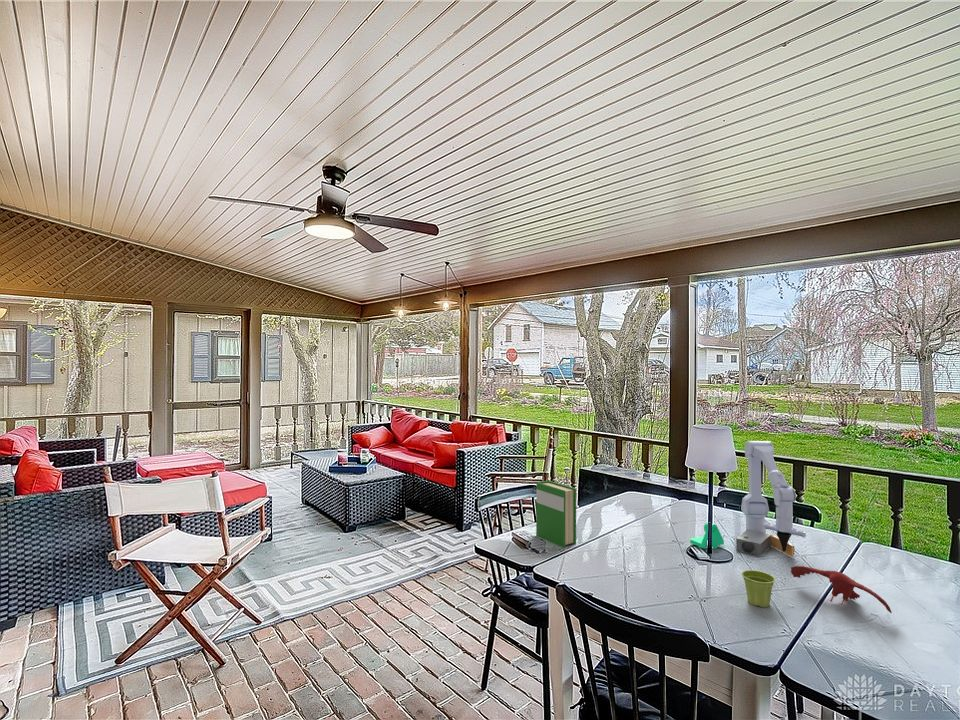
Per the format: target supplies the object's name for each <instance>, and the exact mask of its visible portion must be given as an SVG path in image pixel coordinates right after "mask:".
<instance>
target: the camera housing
mask: <svg viewBox="0 0 960 720" xmlns="http://www.w3.org/2000/svg"><path fill="white" fill-rule="evenodd" d="M771 535H772V534H771V533H767V532H766V533H763V532H758V531H754V530H749V529H748V530H746V529H745V531H744V532H743V533H741V534H739V536H737V537H736V541H735V542H736V543H735V544H736V545H735V547H736V548H735V549H736V551H737V552H738V551H739V552H741V553H742V552H743V553H746V554H749V553H750V554H749V555H753V554H754V556H757V555H758V557H761V556H762V555H764V554H765V553H766V552H767V551H768V550H769V549H770V548H771V547H772V546H771ZM770 546H771V547H770ZM769 547H770V548H769ZM768 548H769V549H768ZM767 549H768V550H767ZM766 550H767V551H766Z"/></svg>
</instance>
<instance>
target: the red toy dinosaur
mask: <svg viewBox="0 0 960 720" xmlns="http://www.w3.org/2000/svg"><path fill="white" fill-rule="evenodd" d="M810 573H811V574H818V575H820V576H823V577H825V578H827V579H828V580H829V583H830V584H831V583H832V590H831V595H832V596H831V598H830V599H829V601H830V602H831V603H832V602H833V600H834V598H836V597H838V595H840V594H842V601H841V602H840V603H838V604H839V605H840V606H844V603H845V601H848V600H849V599H850V600H853V601H857V599H859V598H861V595H860V594H858V593H857V592H856V591H855V590H854V588H857V589H859V590H862V591H863V592H866V593H867V594H870V595H871V597H872V596H873V598H875V599H876V600H877V601H878V602H880V603H881V604H882V605H883V606H884V607H885V608H886V610H887V611H888V613H890V614H893V613H892V609H891V608H890V606H889V604H888V603H887V601H885V600H884V599H883V598H882V596H880V595H879V594H878V593H876V592H875V591H873V590H872V589H870V588H868V587H866V586H864V585H863V584H860V583H859V582H858V581H857V582H856V581H855V580H854V579H852V578H851V577H850V576H848V575H846V574H845V573H843V572H840V571H836V570H823V569H818V568H813V567H809V566H804V565H803V566H802V565H797V566H796V565H795V566H792V567H790V574H791V575H792V577H793V578H798V579H799V578H801V576H805V575H810Z"/></svg>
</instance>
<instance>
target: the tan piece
mask: <svg viewBox="0 0 960 720" xmlns="http://www.w3.org/2000/svg"><path fill="white" fill-rule="evenodd" d="M771 547H773V548H774V549H776V550H778V551H780V552H782V553H784V554H785V555H788V556H789V557H790V558H795V557H794V556H795V546H794V545H793V544H791V543H789V542H788V543H787V546H786V551H783V550H782V545H781V542H780V540H779V538H778V536H777V535H776V536H775V535H774V534H771Z"/></svg>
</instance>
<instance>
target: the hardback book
mask: <svg viewBox="0 0 960 720" xmlns="http://www.w3.org/2000/svg"><path fill="white" fill-rule="evenodd" d="M535 484H536V490H535V491H536V493H535V496H536V497H535V499H536V500H535V501H536V502H535V503H536V504H535V505H536V507H535V509H536V513H535V514H536V515H535V516H536V519H535V522H536V523H535V527H536V528H535V531H536V533H535V536H536V537H538V538H540V539H543V540H546V541H547V542H549V543H553V544H554V545H556V546H559V547H561V548H563V549H564V548H566V545H570V544H572V545H577V488H576V487H573V486H568V485H566V484H562V483H559V482H555V481H552V480H549V479H548V480H543V481H539V482H537V481H536V483H535Z"/></svg>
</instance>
